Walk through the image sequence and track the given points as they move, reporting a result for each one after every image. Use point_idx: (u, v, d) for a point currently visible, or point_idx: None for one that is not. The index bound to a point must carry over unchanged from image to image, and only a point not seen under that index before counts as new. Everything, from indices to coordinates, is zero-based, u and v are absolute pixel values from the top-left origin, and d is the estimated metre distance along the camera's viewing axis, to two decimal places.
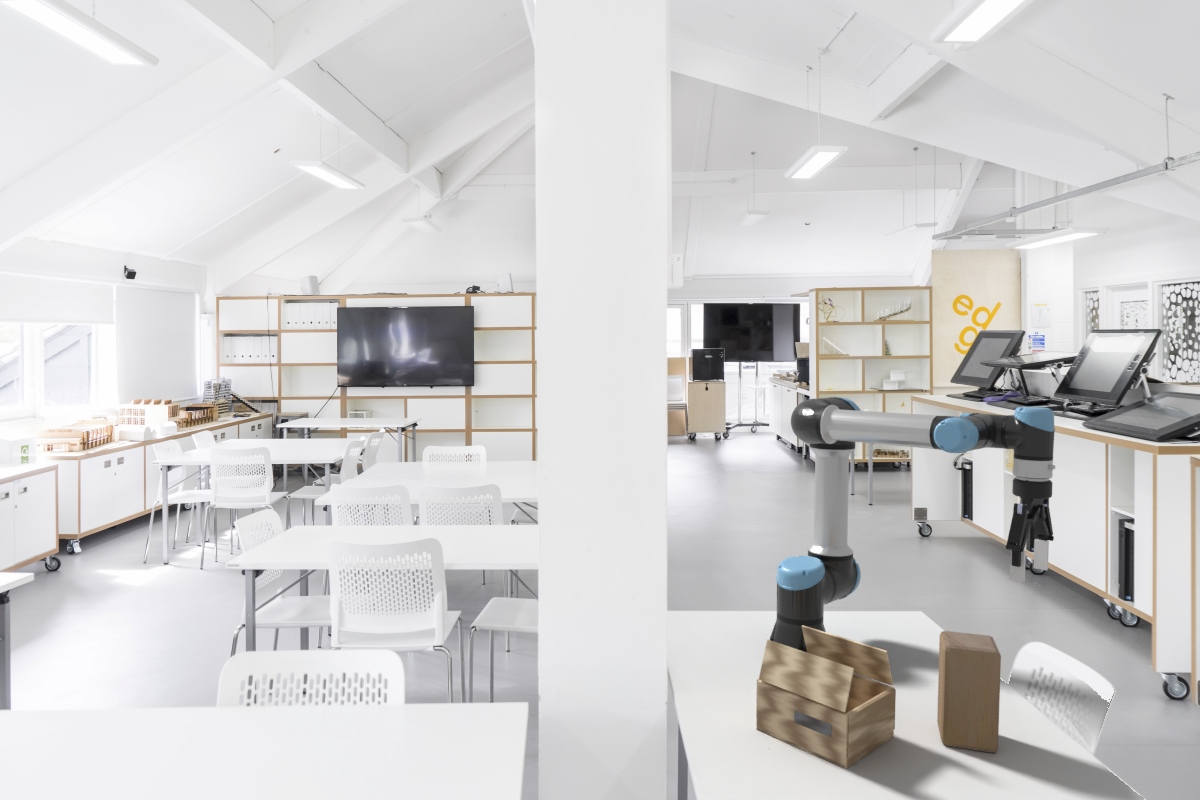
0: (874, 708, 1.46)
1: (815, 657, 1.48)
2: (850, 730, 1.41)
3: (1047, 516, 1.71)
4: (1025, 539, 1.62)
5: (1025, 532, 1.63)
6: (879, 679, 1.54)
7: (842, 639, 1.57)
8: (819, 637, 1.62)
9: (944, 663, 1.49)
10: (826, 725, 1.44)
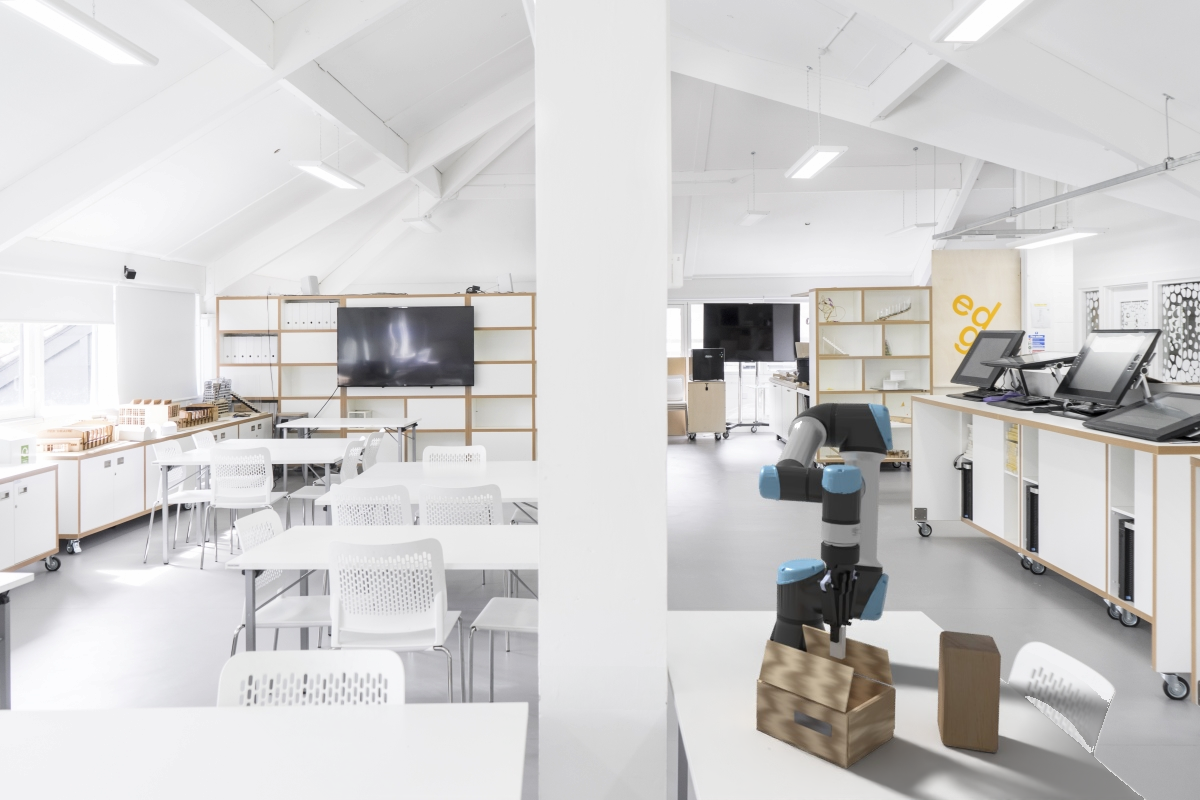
0: (874, 708, 1.46)
1: (815, 657, 1.48)
2: (850, 730, 1.41)
3: (853, 592, 1.58)
4: (840, 613, 1.54)
5: (837, 606, 1.54)
6: (879, 679, 1.54)
7: None
8: (820, 636, 1.62)
9: (944, 663, 1.49)
10: (826, 725, 1.44)
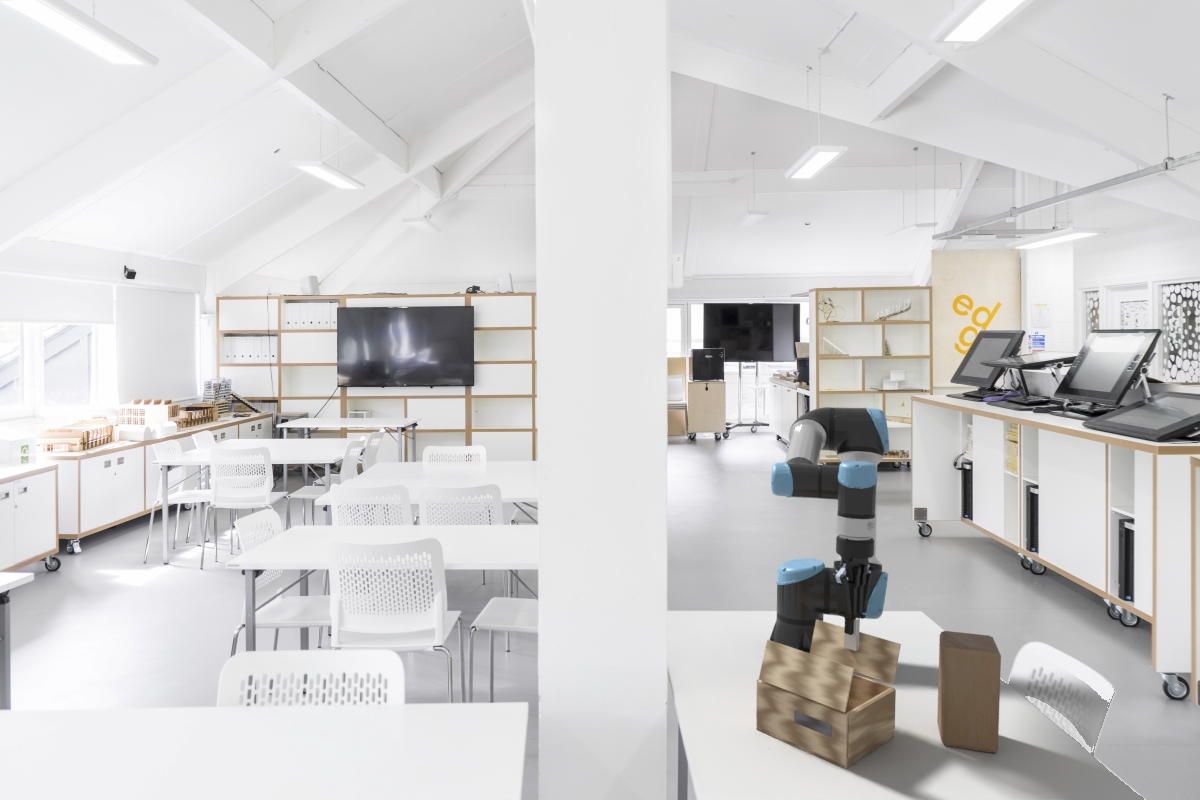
0: (874, 708, 1.46)
1: (815, 657, 1.48)
2: (850, 730, 1.41)
3: (867, 585, 1.61)
4: (854, 606, 1.58)
5: (852, 599, 1.58)
6: (881, 677, 1.55)
7: None
8: (831, 631, 1.65)
9: (944, 663, 1.49)
10: (826, 725, 1.44)
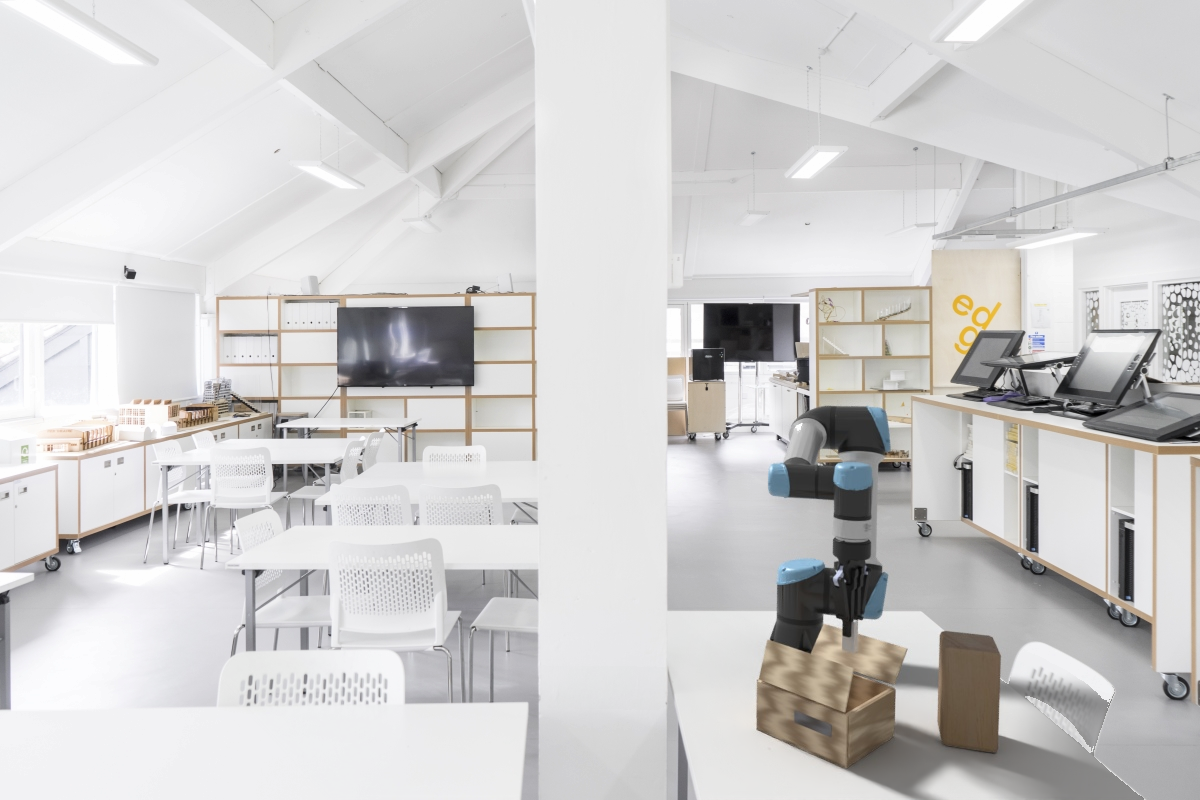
0: (874, 708, 1.46)
1: (815, 657, 1.48)
2: (850, 730, 1.41)
3: (864, 587, 1.60)
4: (852, 608, 1.57)
5: (850, 601, 1.57)
6: (882, 677, 1.55)
7: (863, 636, 1.63)
8: (837, 634, 1.67)
9: (944, 663, 1.49)
10: (826, 725, 1.44)
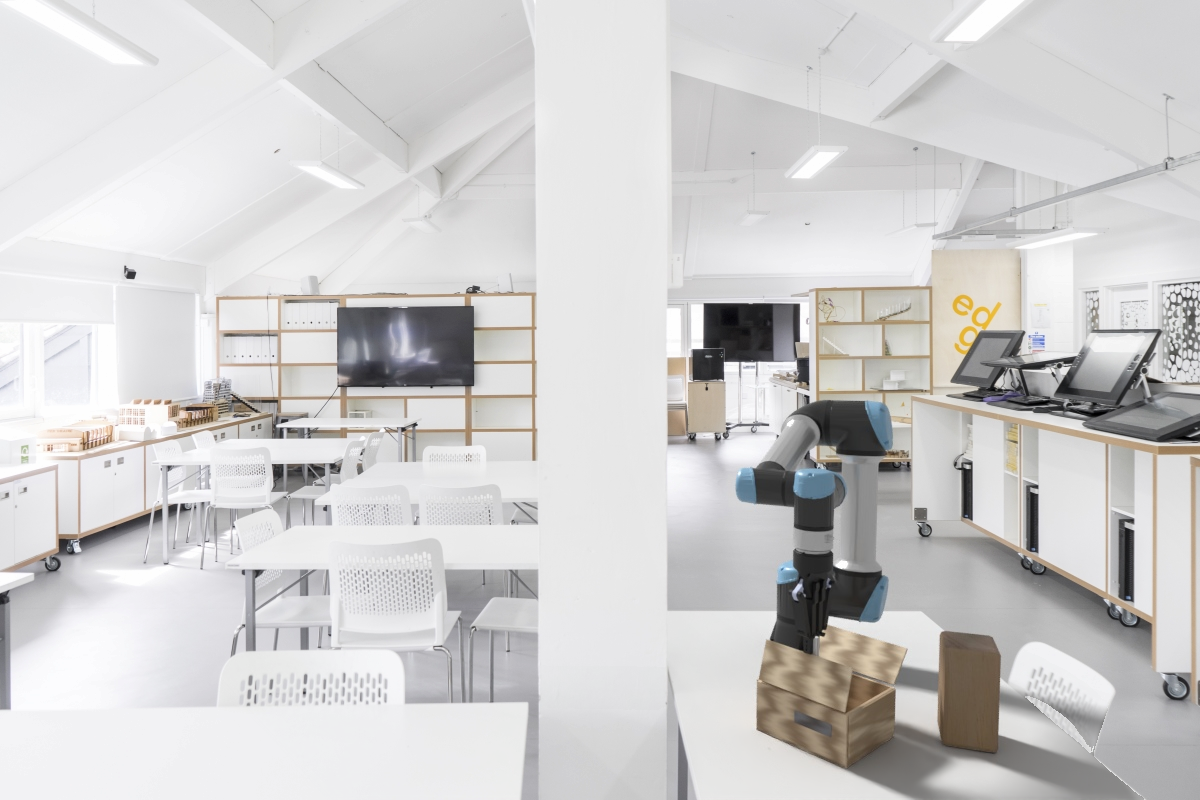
0: (874, 708, 1.46)
1: (814, 657, 1.48)
2: (850, 730, 1.41)
3: (827, 601, 1.51)
4: (813, 623, 1.48)
5: (811, 617, 1.48)
6: (882, 677, 1.55)
7: (863, 636, 1.63)
8: (837, 634, 1.67)
9: (944, 663, 1.49)
10: (826, 725, 1.44)
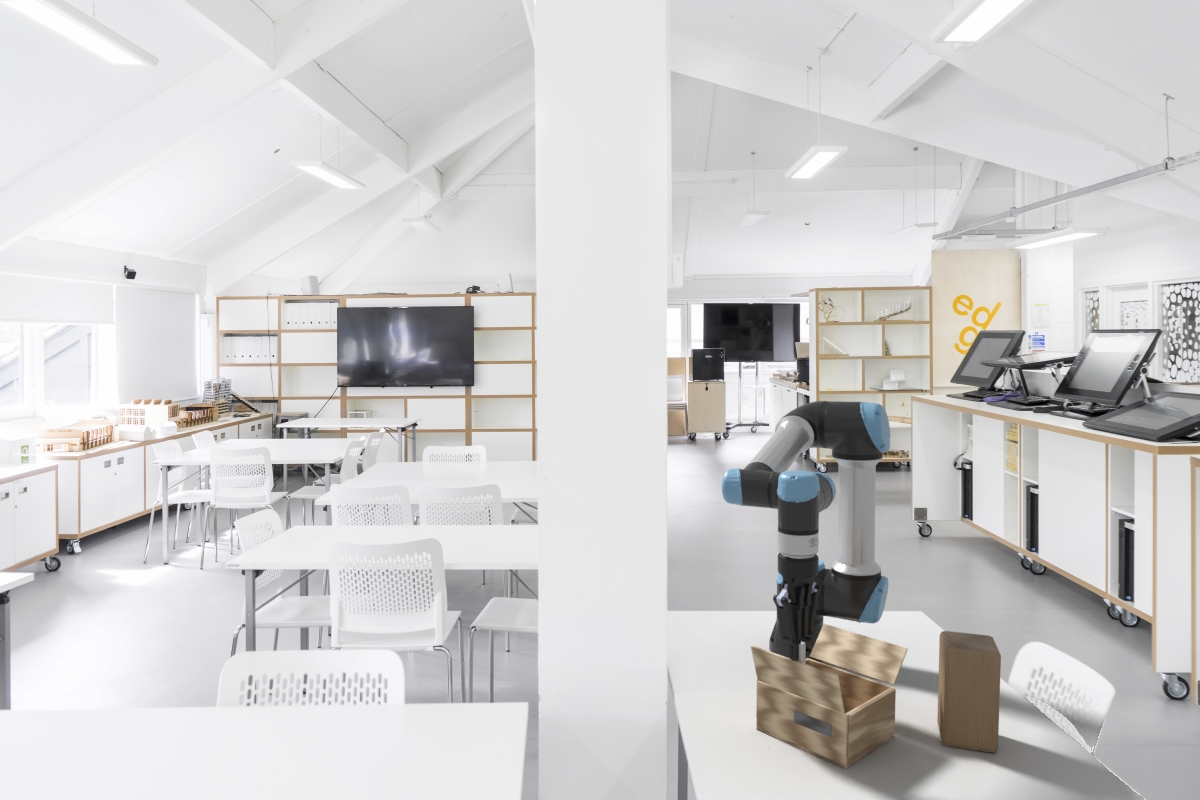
0: (874, 708, 1.46)
1: (799, 664, 1.45)
2: (850, 730, 1.41)
3: (813, 605, 1.48)
4: (799, 629, 1.45)
5: (796, 622, 1.44)
6: (882, 677, 1.55)
7: (863, 636, 1.63)
8: (837, 634, 1.67)
9: (944, 663, 1.49)
10: (826, 725, 1.44)
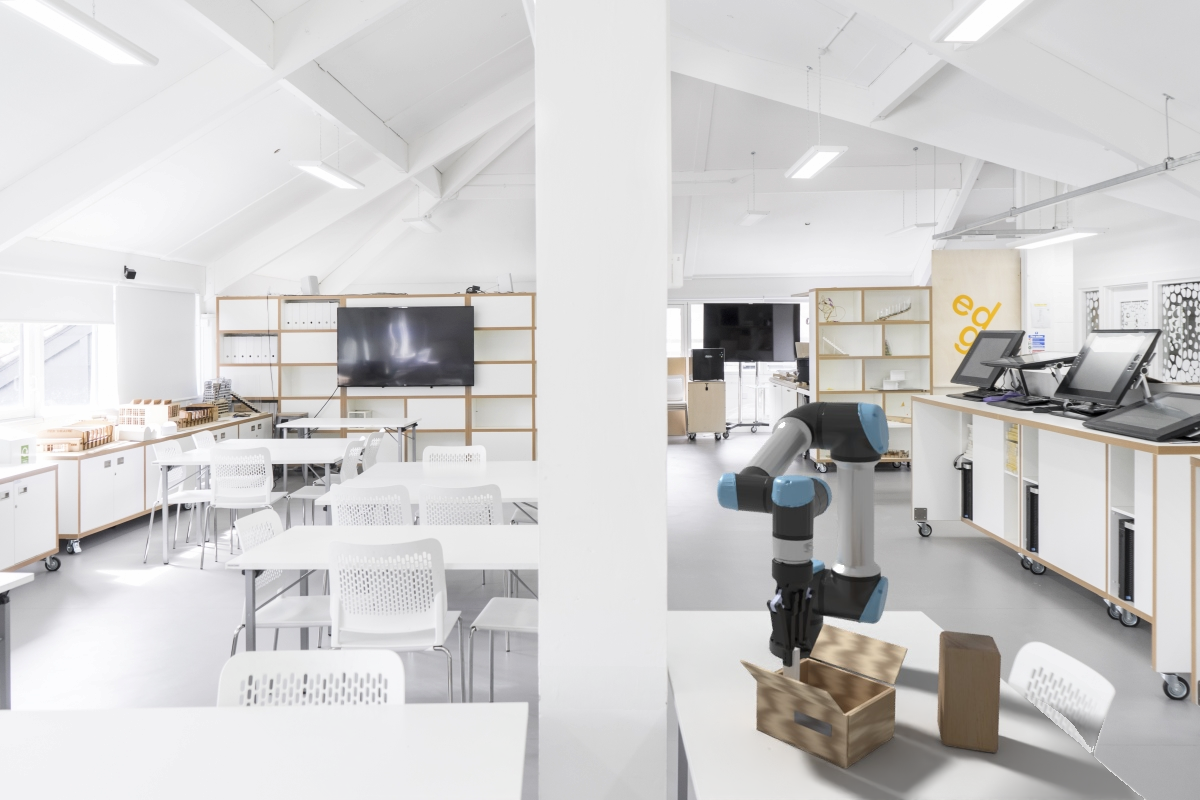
0: (874, 708, 1.46)
1: (789, 680, 1.42)
2: (850, 730, 1.41)
3: (807, 611, 1.47)
4: (792, 635, 1.43)
5: (790, 628, 1.43)
6: (882, 677, 1.55)
7: (863, 636, 1.63)
8: (837, 634, 1.67)
9: (944, 663, 1.49)
10: (826, 725, 1.44)
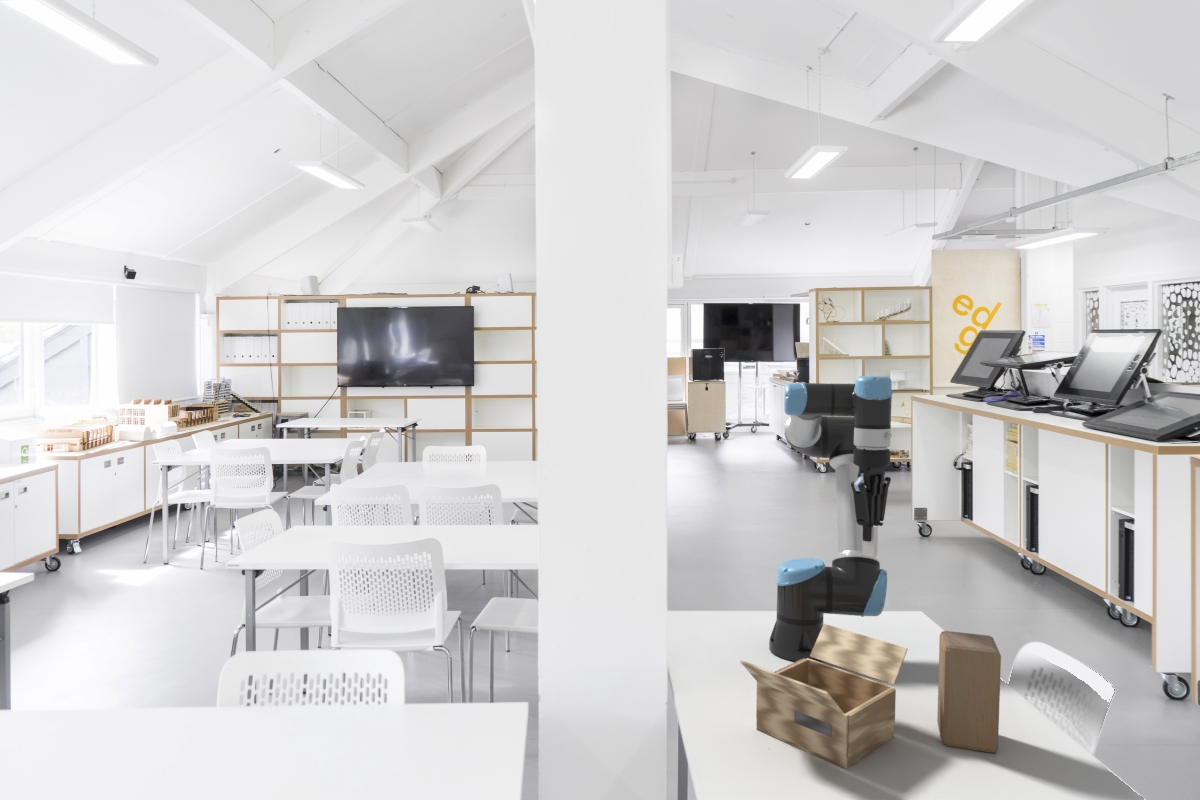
0: (874, 708, 1.46)
1: (789, 680, 1.42)
2: (850, 730, 1.41)
3: (884, 495, 1.68)
4: (872, 513, 1.65)
5: (870, 507, 1.65)
6: (882, 677, 1.55)
7: (863, 636, 1.63)
8: (837, 634, 1.67)
9: (944, 663, 1.49)
10: (826, 725, 1.44)
